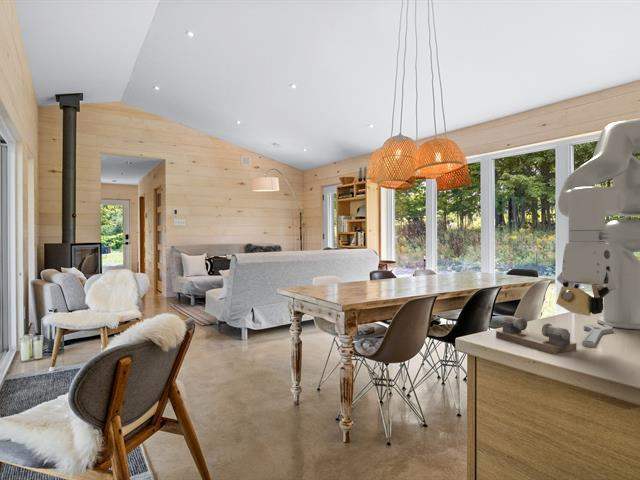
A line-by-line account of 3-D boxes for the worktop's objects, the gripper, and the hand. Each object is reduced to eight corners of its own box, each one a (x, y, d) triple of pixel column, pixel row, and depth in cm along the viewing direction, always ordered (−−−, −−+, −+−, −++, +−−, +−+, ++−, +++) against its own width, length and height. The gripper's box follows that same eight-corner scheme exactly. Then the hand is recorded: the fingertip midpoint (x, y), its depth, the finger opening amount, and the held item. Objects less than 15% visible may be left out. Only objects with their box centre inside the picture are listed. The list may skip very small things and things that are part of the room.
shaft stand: (517, 333, 109) (517, 313, 109) (576, 349, 95) (576, 325, 95) (496, 336, 106) (496, 315, 106) (553, 353, 91) (554, 329, 91)
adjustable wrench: (594, 350, 96) (594, 342, 96) (563, 345, 101) (564, 337, 101) (614, 331, 114) (614, 325, 114) (587, 328, 118) (587, 322, 118)
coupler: (576, 295, 101) (559, 285, 98) (595, 298, 97) (578, 287, 94) (571, 312, 101) (554, 302, 98) (589, 316, 97) (572, 305, 94)
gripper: (634, 237, 93) (633, 316, 93) (562, 236, 108) (562, 303, 109) (614, 239, 89) (613, 320, 90) (544, 237, 105) (544, 306, 106)
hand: (585, 310), depth 100 cm, fingers closed on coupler, 4 cm apart
